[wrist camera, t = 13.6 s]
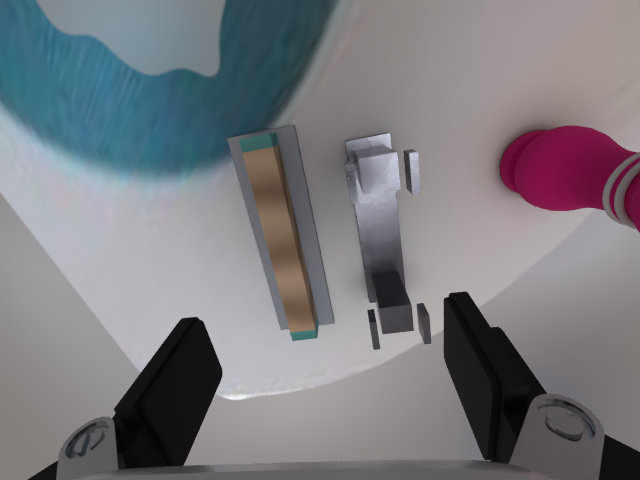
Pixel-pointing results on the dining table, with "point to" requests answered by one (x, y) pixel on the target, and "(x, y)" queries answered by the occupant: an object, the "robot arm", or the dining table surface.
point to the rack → (383, 230)
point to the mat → (302, 216)
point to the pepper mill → (575, 172)
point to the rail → (281, 232)
